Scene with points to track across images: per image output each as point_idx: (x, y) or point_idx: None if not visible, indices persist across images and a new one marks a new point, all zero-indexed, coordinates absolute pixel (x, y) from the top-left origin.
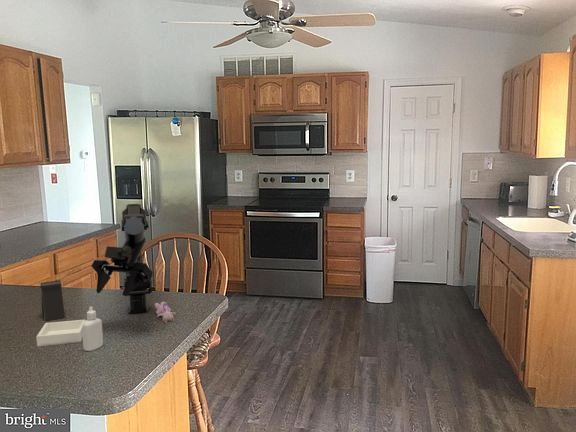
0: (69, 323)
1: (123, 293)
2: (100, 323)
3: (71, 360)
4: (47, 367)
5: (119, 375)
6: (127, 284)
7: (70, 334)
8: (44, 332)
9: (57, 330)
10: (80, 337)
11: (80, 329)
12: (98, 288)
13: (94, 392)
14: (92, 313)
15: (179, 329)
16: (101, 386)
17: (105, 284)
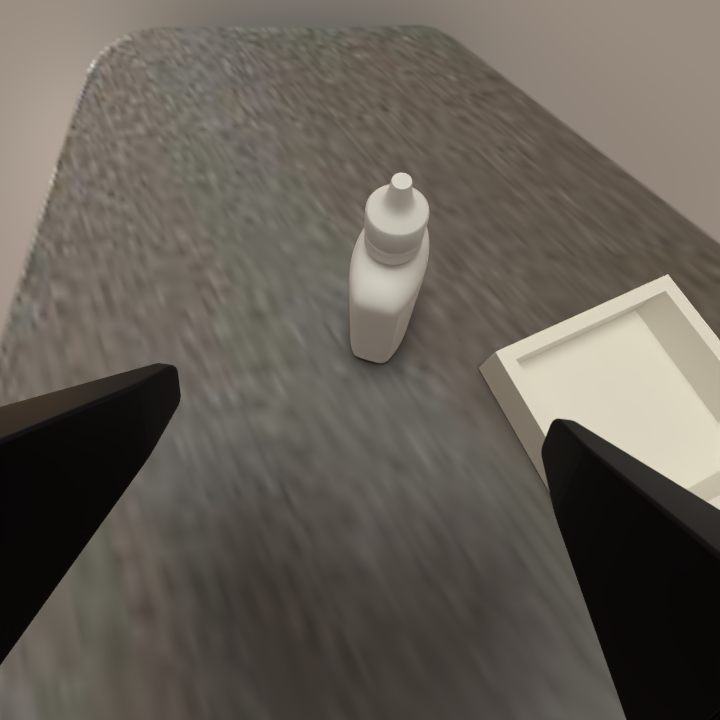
0: None
1: (158, 366)
2: (349, 287)
3: None
4: (438, 154)
5: (160, 137)
6: (33, 409)
7: (533, 335)
8: (709, 375)
9: (708, 477)
10: (488, 367)
11: (525, 394)
12: (576, 439)
13: (193, 53)
14: (374, 194)
15: None
16: (188, 79)
17: (608, 652)
